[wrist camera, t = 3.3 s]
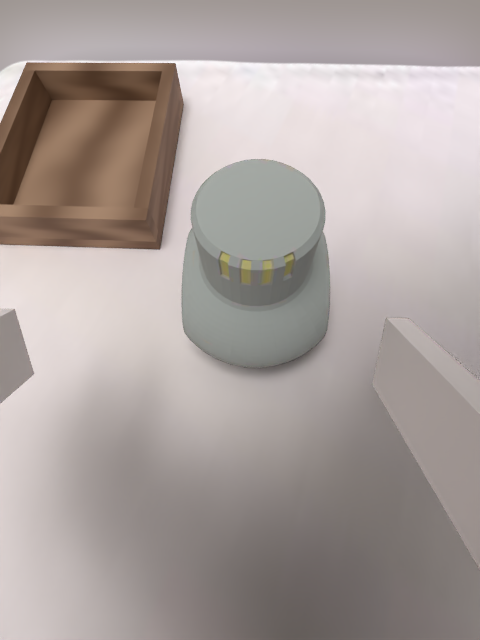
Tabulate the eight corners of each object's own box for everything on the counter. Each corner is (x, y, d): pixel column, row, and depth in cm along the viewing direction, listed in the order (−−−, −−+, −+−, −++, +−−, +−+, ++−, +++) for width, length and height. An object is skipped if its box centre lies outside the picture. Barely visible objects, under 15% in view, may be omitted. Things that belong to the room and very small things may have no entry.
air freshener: (203, 236, 25) (174, 115, 15) (308, 237, 25) (345, 114, 15) (191, 374, 21) (144, 325, 12) (315, 377, 21) (370, 329, 11)
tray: (183, 104, 30) (175, 63, 27) (159, 249, 24) (145, 220, 21) (50, 102, 30) (26, 62, 27) (-2, 244, 25) (-40, 215, 22)
